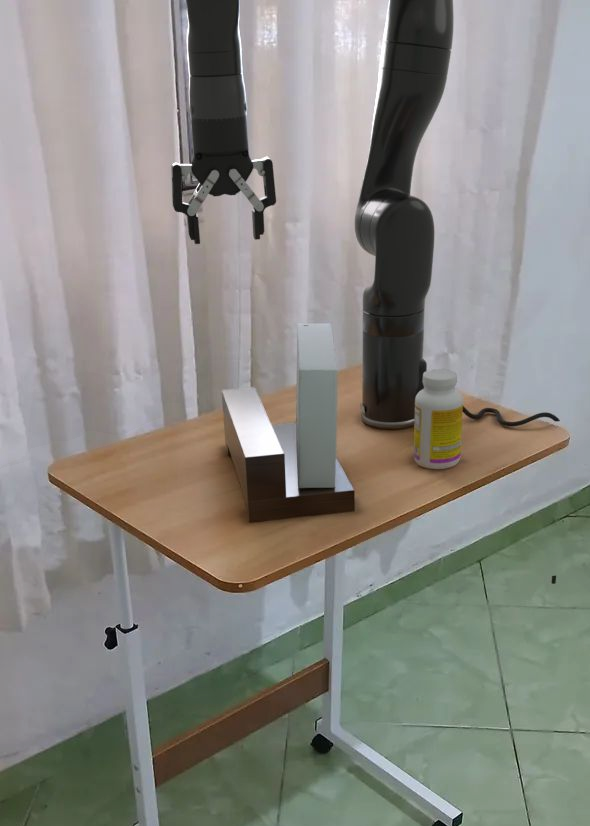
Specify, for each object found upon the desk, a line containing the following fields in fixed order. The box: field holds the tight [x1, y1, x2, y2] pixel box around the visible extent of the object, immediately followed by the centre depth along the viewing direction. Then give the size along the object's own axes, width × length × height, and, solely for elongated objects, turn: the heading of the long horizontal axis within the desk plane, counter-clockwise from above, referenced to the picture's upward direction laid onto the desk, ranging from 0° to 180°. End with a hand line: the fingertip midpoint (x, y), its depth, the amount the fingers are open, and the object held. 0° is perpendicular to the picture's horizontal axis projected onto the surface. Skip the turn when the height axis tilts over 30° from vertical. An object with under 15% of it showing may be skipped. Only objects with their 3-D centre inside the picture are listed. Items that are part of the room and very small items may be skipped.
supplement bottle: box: [413, 368, 464, 470], centre depth 144 cm, size 7×7×13 cm
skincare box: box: [295, 323, 339, 488], centre depth 138 cm, size 21×5×16 cm, turn 1°
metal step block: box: [220, 386, 356, 523], centre depth 142 cm, size 14×26×9 cm, turn 10°
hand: (226, 240), depth 145 cm, fingers open, 8 cm apart
